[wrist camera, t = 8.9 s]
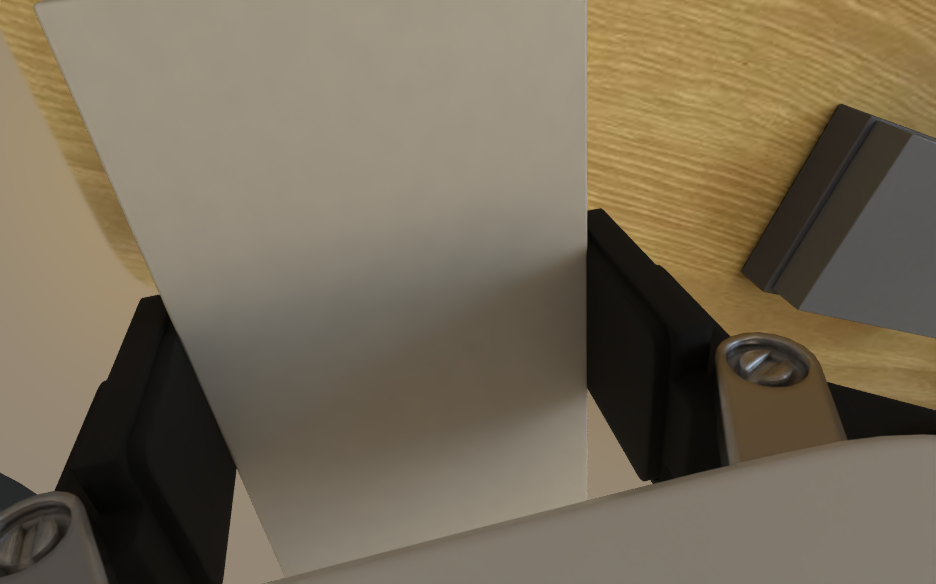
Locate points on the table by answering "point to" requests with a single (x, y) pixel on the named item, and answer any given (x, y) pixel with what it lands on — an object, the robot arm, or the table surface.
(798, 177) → the grey books
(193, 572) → the robot arm
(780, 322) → the table surface
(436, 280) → the beige flat block
